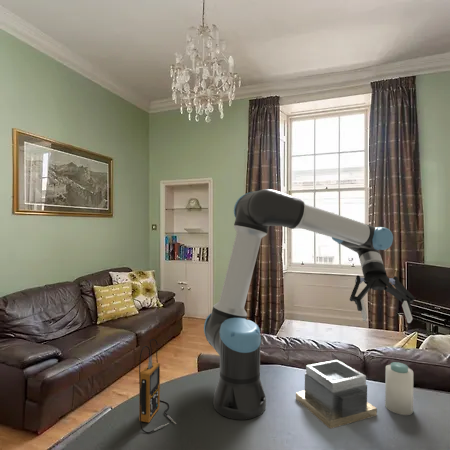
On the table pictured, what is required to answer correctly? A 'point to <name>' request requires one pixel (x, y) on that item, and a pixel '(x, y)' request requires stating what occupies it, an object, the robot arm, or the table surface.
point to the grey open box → (335, 394)
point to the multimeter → (150, 391)
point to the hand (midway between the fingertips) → (387, 320)
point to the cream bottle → (399, 388)
